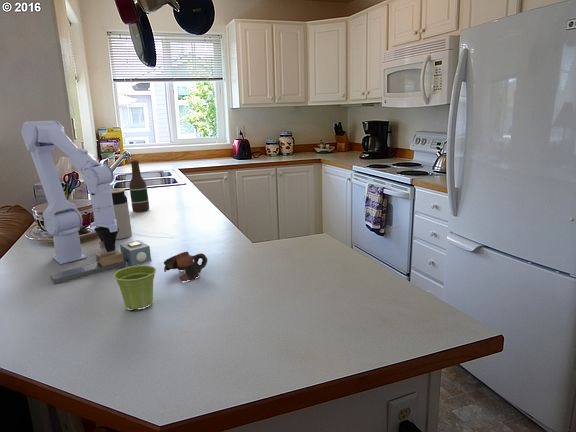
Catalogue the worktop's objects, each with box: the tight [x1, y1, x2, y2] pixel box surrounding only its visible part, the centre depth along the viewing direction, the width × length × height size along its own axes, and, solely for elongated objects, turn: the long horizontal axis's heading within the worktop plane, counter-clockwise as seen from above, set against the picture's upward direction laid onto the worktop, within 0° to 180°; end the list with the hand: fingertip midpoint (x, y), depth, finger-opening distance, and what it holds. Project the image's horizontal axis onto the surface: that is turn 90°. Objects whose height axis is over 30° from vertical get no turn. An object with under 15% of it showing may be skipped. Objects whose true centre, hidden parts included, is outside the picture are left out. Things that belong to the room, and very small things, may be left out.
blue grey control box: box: [119, 239, 152, 267], centre depth 133 cm, size 9×6×5 cm, turn 40°
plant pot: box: [113, 264, 157, 309], centre depth 101 cm, size 9×9×9 cm
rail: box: [49, 259, 128, 285], centre depth 125 cm, size 5×20×2 cm, turn 130°
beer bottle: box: [128, 159, 150, 213], centre depth 200 cm, size 8×8×24 cm
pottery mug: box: [163, 251, 208, 282], centre depth 119 cm, size 12×10×8 cm
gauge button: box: [128, 242, 141, 248], centre depth 133 cm, size 3×3×4 cm
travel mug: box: [111, 187, 133, 240], centre depth 158 cm, size 8×8×18 cm
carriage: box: [95, 240, 123, 266], centre depth 127 cm, size 6×6×6 cm
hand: (109, 250), depth 128 cm, fingers closed on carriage, 2 cm apart
